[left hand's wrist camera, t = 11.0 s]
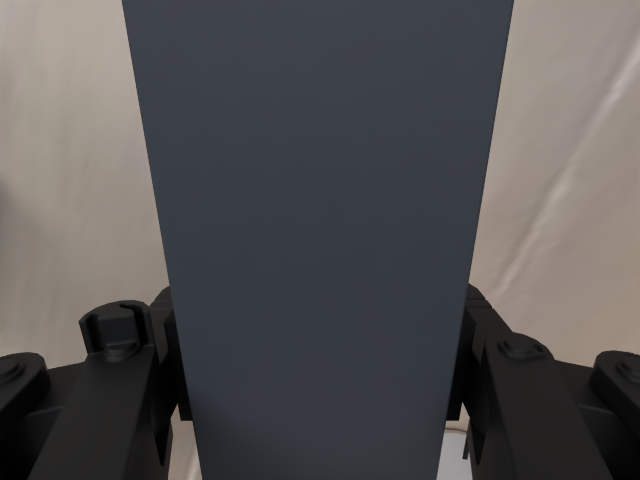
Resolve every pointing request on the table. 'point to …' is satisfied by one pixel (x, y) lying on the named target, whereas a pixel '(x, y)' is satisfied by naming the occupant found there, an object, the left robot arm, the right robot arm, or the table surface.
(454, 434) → the mug
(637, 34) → the table surface
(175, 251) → the beam
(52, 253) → the table surface
